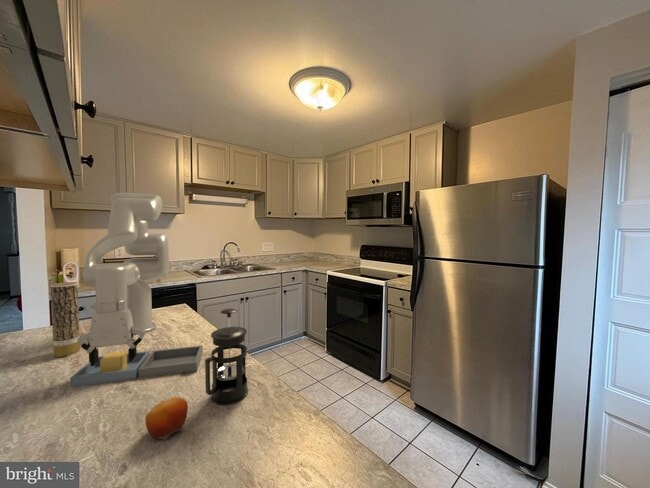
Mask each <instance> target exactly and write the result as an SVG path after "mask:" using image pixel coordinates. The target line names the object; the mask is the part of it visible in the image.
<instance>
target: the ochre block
mask: <svg viewBox="0 0 650 488" xmlns="http://www.w3.org/2000/svg"><path fill="white" fill-rule="evenodd" d="M127 353H128V351H127V350H124V351H123V350H121V351H114V352H106V354H105V355H103V356H104V357H103V358H102V359H101V360H100V372H101V373H103V372H111V371H119V370H124V369H125V368H126V367H127Z"/></svg>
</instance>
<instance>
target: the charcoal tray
mask: <svg viewBox="0 0 650 488" xmlns="http://www.w3.org/2000/svg"><path fill="white" fill-rule="evenodd" d="M202 357H203V345H193V346H186V347H176V348H166V349H157V350H152V351H150V355H149V356H148V358H147V359H146V360H145V362H144V363H143V364H142V366H141V367H140V368H139V375H138V379H142V378H151V377H158V376H165V375H166V376H167V375H172V374H173V375H174V374H188V373H189V374H190V373H197V372H198V369H199V366H200V363H201V360H202Z"/></svg>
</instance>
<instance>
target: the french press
mask: <svg viewBox="0 0 650 488" xmlns="http://www.w3.org/2000/svg"><path fill="white" fill-rule="evenodd" d="M237 312H238V309H236V308H225V309H222V310H221V311H220V314H224V315H226V316H227V317H226V318H228V326H226V327H222V328H219V329H216V330H214V331H212V332H211V335H210V338H211V339H212V343H213V345H214V346H216V347H215V348H214V349H213V350H212V351H211V354H210V355H211V356H210V357H208V358H205V359H204V365H205V366H204V368H205V370H204V374H205V377H204V379H205V393H206V394H207V395H208V396H210V398H211V399H210V400H211V402H213V404H216V405H219V406H228V405H233V404H236V403H239V402H241V401H243V400H244V399H245V398H246V397H247V395H248V394H249V388H248V378H247V377H246V371H247V366H246V364H247V363H246V357H247V356H248V355H247V354H248V347H247V346H246V345H244V344H242V343H244V342H245V340H246V334H247V329H246V328H245V327H241V326H231V317H232V314H234V313H237ZM231 349H237V350H240V354H238V355H235V356H231ZM224 350H228V357H225V356H224V355H225V354H224ZM215 354H217V356H215ZM211 362H212V364H211ZM211 365H212V366H211ZM211 367H212V383H211ZM227 387H228V388H229V387H236V389H233V390H226V391H221V390H223V389H225V388H227Z"/></svg>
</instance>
